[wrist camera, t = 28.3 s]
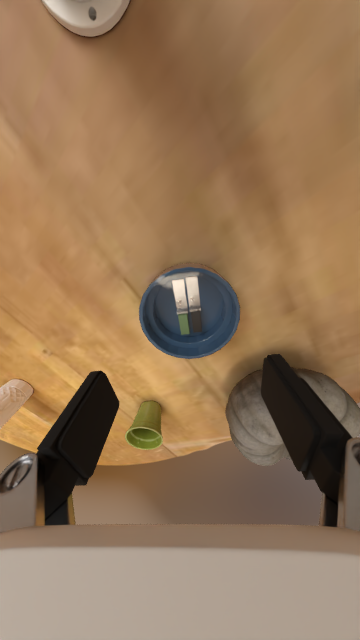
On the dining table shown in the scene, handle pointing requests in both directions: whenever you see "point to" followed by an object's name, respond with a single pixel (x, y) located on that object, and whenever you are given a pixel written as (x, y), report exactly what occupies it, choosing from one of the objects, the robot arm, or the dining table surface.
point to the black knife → (194, 302)
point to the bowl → (215, 312)
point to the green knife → (181, 305)
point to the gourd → (258, 426)
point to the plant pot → (146, 427)
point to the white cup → (13, 398)
